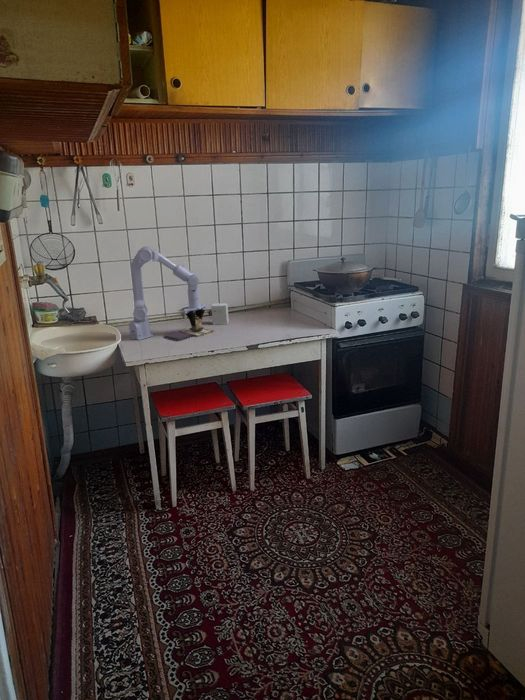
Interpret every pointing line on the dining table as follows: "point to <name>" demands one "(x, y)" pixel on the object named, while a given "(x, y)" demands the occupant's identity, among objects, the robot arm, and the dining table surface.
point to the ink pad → (178, 336)
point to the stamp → (197, 325)
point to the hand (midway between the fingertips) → (196, 324)
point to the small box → (220, 313)
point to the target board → (197, 332)
